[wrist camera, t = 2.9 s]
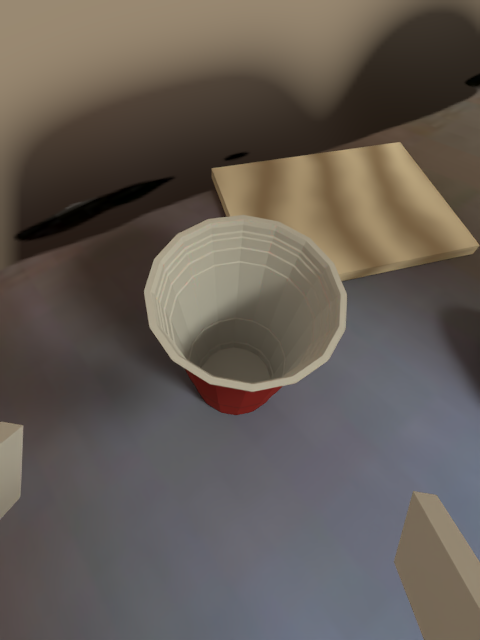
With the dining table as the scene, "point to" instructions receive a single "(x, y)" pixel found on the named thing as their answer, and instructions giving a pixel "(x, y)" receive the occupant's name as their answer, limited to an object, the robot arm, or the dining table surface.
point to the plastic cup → (245, 308)
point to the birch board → (351, 207)
